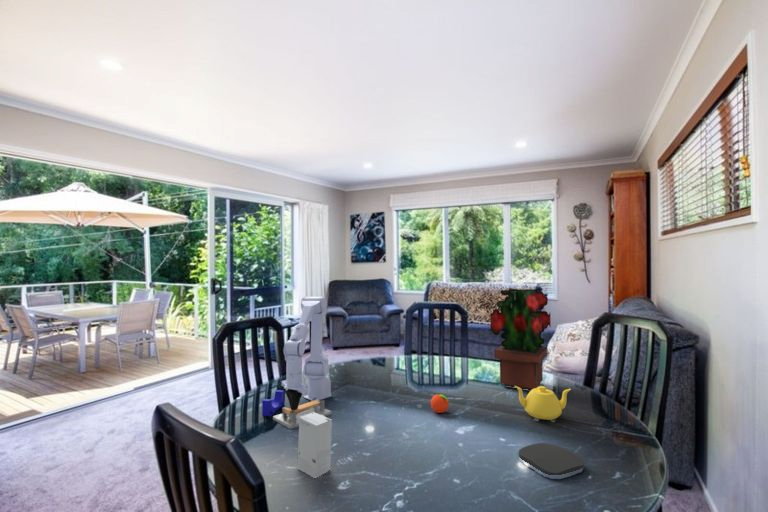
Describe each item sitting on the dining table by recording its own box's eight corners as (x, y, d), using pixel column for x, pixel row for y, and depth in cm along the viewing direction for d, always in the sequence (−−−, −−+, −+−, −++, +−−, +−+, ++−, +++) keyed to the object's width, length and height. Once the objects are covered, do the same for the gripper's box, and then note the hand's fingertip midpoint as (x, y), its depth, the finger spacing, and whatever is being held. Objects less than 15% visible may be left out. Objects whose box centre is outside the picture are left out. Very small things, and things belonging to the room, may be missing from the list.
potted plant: (551, 383, 184) (550, 288, 185) (542, 397, 166) (541, 292, 166) (504, 376, 196) (503, 287, 197) (491, 388, 177) (490, 290, 178)
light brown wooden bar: (317, 402, 154) (317, 397, 154) (322, 404, 151) (322, 400, 151) (284, 413, 143) (284, 408, 143) (289, 415, 140) (289, 411, 140)
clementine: (454, 412, 149) (454, 394, 149) (444, 418, 144) (444, 399, 144) (437, 407, 155) (437, 389, 155) (427, 412, 150) (427, 394, 150)
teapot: (565, 410, 151) (565, 381, 151) (576, 427, 136) (576, 394, 136) (511, 407, 155) (511, 378, 155) (517, 422, 140) (516, 391, 140)
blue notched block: (273, 404, 160) (273, 389, 160) (283, 405, 159) (283, 390, 159) (258, 415, 148) (258, 400, 148) (269, 416, 147) (269, 400, 147)
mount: (312, 406, 157) (312, 394, 157) (331, 414, 149) (331, 402, 149) (272, 419, 144) (272, 407, 144) (290, 429, 136) (290, 416, 136)
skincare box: (296, 469, 110) (296, 417, 110) (313, 461, 114) (313, 410, 114) (316, 480, 104) (315, 425, 104) (332, 470, 109) (332, 417, 109)
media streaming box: (551, 484, 102) (551, 472, 102) (512, 458, 116) (512, 448, 116) (590, 471, 108) (590, 461, 108) (549, 448, 122) (549, 439, 122)
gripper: (274, 371, 146) (274, 407, 146) (296, 379, 136) (296, 417, 136) (290, 367, 151) (290, 402, 151) (312, 374, 141) (312, 412, 141)
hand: (294, 409), depth 144 cm, fingers closed, pressing on light brown wooden bar
